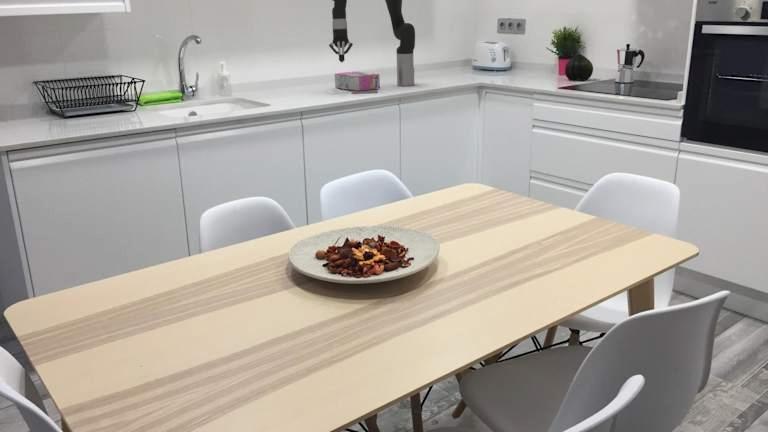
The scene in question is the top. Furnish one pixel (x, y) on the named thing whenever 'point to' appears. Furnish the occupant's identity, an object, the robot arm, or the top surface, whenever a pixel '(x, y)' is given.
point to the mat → (364, 91)
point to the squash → (578, 68)
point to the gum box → (357, 81)
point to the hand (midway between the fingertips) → (341, 61)
